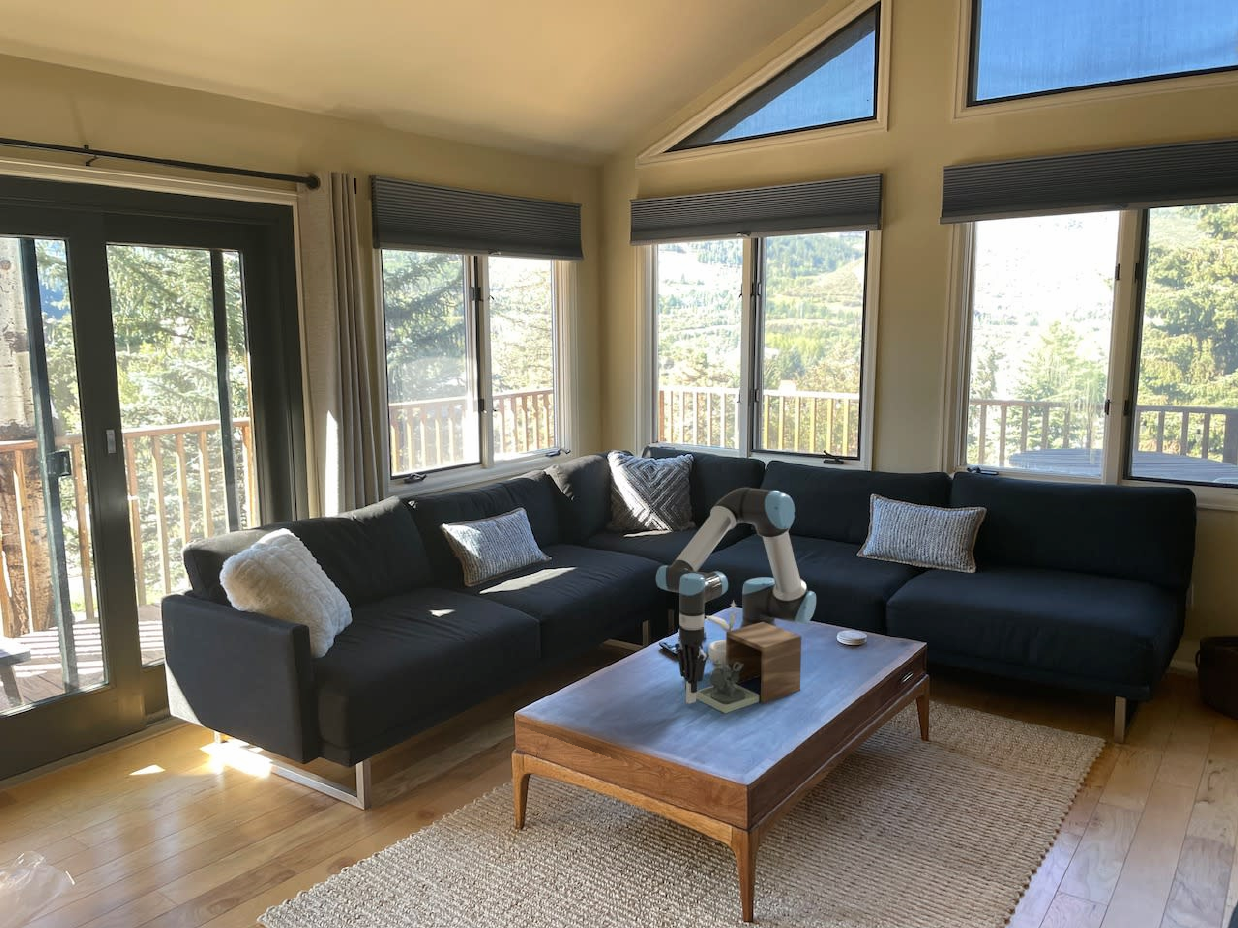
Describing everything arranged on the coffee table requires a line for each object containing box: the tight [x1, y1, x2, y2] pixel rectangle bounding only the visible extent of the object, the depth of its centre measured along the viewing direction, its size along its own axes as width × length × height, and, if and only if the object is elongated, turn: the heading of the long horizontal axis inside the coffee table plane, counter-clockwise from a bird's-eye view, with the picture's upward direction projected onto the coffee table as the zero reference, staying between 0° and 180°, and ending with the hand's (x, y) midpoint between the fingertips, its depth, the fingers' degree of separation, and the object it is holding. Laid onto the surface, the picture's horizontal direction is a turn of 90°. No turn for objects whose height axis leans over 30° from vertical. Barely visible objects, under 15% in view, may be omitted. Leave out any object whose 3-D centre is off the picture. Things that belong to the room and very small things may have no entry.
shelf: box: [725, 622, 802, 704], centre depth 303 cm, size 17×16×18 cm
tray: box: [696, 684, 760, 714], centre depth 296 cm, size 14×14×2 cm
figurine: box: [708, 660, 745, 704], centre depth 295 cm, size 11×11×12 cm
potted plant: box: [705, 599, 741, 670], centre depth 314 cm, size 13×12×25 cm
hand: (691, 701), depth 287 cm, fingers closed
